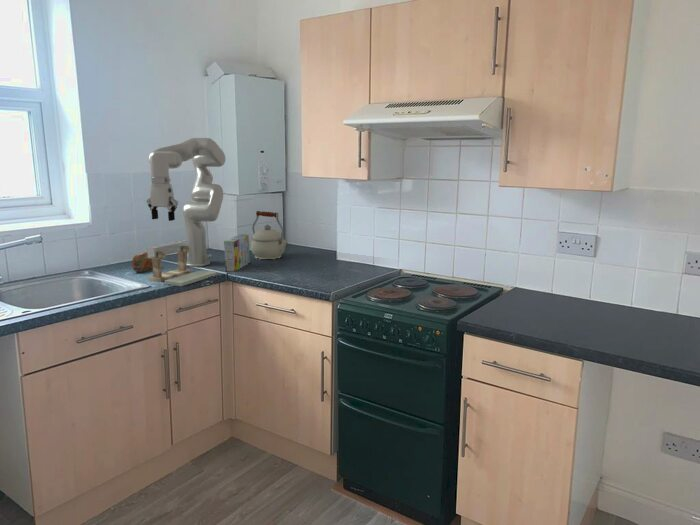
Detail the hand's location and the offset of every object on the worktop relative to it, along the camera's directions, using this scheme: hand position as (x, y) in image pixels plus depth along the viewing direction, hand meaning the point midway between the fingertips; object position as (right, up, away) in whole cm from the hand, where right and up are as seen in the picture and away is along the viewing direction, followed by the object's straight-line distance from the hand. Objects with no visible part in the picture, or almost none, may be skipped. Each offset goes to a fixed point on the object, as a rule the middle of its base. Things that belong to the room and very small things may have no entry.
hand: (163, 219), depth 242 cm
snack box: (+28, -22, +28) cm, 45 cm away
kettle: (+40, -17, +53) cm, 68 cm away
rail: (+1, -15, +4) cm, 15 cm away
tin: (-16, -23, +19) cm, 34 cm away
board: (+13, -27, +1) cm, 29 cm away
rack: (+1, -26, +6) cm, 26 cm away
